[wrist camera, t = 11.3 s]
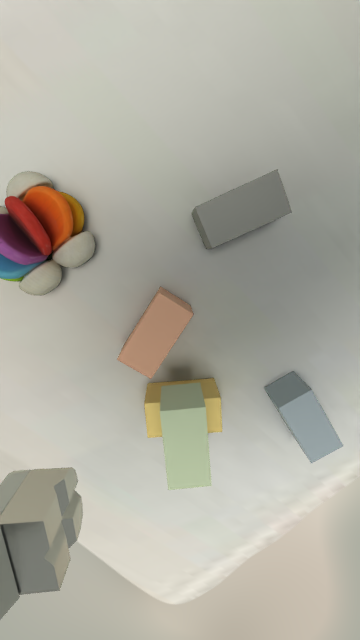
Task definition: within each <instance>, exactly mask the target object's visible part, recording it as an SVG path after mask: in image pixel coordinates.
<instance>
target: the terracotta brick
mask: <svg viewBox="0 0 360 640" xmlns="http://www.w3.org/2000/svg"><path fill="white" fill-rule="evenodd" d="M192 316H193V311H192V308H191V306H190V305H189V304H187V303H186V302H184V301H183V300H181V299H179V298H178V297H176V296H175V295H173V294H171V293H170V292H168V291H167V290H165V289H163V288H162V287H160V288H159V290H158V291H157V293H156V295H155V296H154V298H153V299H152V301H151V303H150V304H149V306H148V307H147V309H146V311H145V312H144V314H143V315H142V317H141V319H140V320H139V322H138V323H137V325H136V327H135V328H134V330H133V331H132V333H131V335H130V336H129V338H128V339H127V341H126V343H125V344H124V346H123V348H122V350H121V352H120V354H119V356H118V358H117V360H119V361H120V362H122V363H124V364H126V365H127V366H129V367H131V368H133V369H134V370H136V371H138V372H140V373H141V374H143V375H145V376H147V377H148V378H150V379H151V378H152V377H153V375H154V374H155V372H156V371H157V369H158V368H159V366H160V365H161V363H162V362H163V360H164V359H165V357H166V356H167V354H168V352H169V351H170V349H171V348H172V346H173V345H174V343H175V342H176V340H177V339H178V337H179V336H180V334H181V333H182V331H183V330H184V328H185V327H186V325H187V324H188V322H189V321H190V319H191V318H192Z"/></svg>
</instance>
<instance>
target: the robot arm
mask: <svg viewBox="0 0 360 640" xmlns="http://www.w3.org/2000/svg"><path fill="white" fill-rule="evenodd" d="M77 483H78V479H77V474H76V470H75V469H73V468H72V467H71V468H52V469H34V470H20V471H13V472H11V473H9V474H8V475H7V476H6V478H5V479H4V480H3V482H2V483H1V484H0V619H1V618H2V617H3V616H4V615H5V614H6V613H7V611H8V610H9V609H10V608H11V607H12V606H13V605H14V603H15V602H16V601H17V600H18V599H19V597H20V596H19V595H22V594H31V593H40V592H50V591H60V588H61V585H62V582H63V579H64V576H65V574H66V571H67V568H68V565H69V562H70V554H69V548H70V547H71V546H72V544H74V543H75V542H76V541H77V539H78V535H79V532H80V529H81V523H82V516H83V506H82V499H81V496H80V495H79V494H78V493H77V492H76V491H75V488H76V485H77Z"/></svg>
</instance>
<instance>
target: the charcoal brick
mask: <svg viewBox="0 0 360 640" xmlns="http://www.w3.org/2000/svg"><path fill="white" fill-rule="evenodd" d="M289 213H292V211H291V208H290V205H289V202H288V199H287V196H286V193H285V190H284V187H283V184H282V181H281V178H280V176H279V173H278V170H274V171H272V172H270V173H268V174H266V175H264V176H262V177H259V178H257V179H255V180H253V181H251V182H249V183H246V184H244V185H242V186H240V187H238V188H236V189H233V190H231V191H229V192H227V193H225V194H223V195H220V196H218V197H216V198H214V199H212V200H210V201H208V202H205V203H203V204H201V205H199V206H197V207H195V208H194V210H193V212H192V213H191V214H192V216H193V219H194V221H195V223H196V226H197V228H198V231H199V233H200V236H201V238H202V240H203V243H204V245H205V248H206V249H212V248H214V247H217V246H219V245H221V244H223V243H225V242H228V241H230V240H232V239H234V238H236V237H239V236H241V235H243V234H245V233H247V232H250V231H252V230H254V229H256V228H259V227H261V226H263V225H265V224H267V223H270V222H272V221H274V220H276V219H278V218H281V217H283V216H285V215H287V214H289Z"/></svg>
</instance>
